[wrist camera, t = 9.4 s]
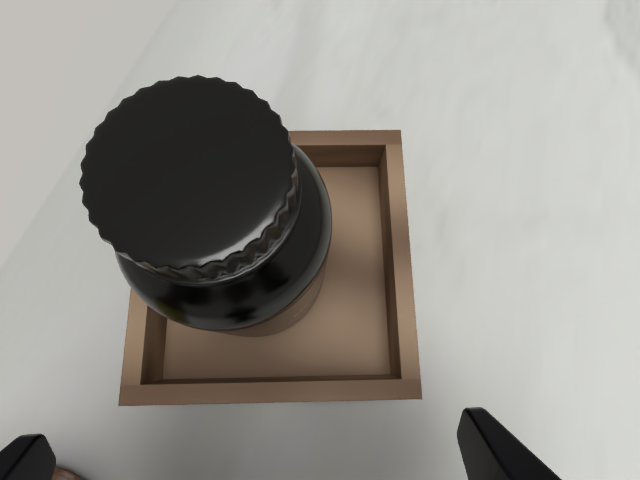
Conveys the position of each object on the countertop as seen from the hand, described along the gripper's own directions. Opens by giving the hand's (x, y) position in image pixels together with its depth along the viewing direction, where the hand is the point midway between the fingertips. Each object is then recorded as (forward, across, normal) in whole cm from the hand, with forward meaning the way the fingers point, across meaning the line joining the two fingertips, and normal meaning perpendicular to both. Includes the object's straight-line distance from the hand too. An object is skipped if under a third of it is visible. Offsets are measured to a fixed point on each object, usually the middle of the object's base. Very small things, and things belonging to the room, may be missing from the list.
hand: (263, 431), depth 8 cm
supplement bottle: (+12, +1, +3) cm, 12 cm away
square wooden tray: (+14, 0, +5) cm, 15 cm away
